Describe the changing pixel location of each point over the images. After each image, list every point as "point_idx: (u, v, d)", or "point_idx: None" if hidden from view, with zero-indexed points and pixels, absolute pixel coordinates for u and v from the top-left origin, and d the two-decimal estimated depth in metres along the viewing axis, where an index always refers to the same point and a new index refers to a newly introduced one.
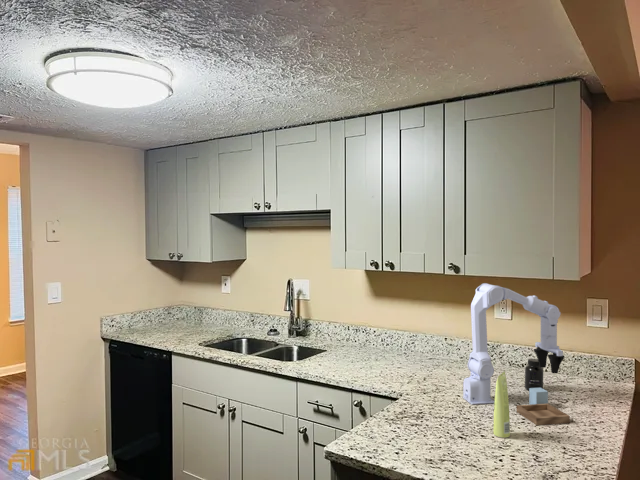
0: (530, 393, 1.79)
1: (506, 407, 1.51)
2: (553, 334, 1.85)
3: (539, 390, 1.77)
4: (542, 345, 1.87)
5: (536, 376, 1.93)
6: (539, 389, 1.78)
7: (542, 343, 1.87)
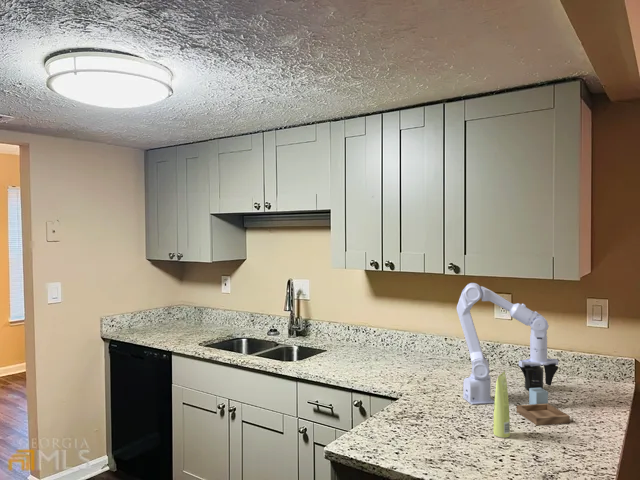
0: (530, 393, 1.79)
1: (506, 407, 1.51)
2: (539, 347, 1.75)
3: (539, 390, 1.77)
4: None
5: (536, 376, 1.93)
6: (539, 389, 1.78)
7: None
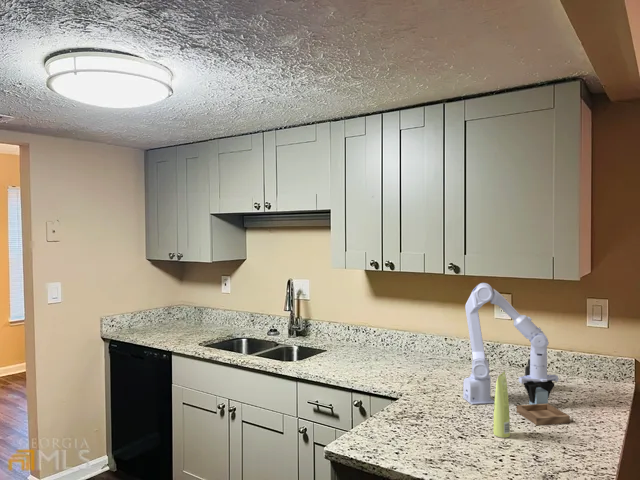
0: None
1: (506, 407, 1.51)
2: (539, 364, 1.75)
3: (539, 389, 1.77)
4: None
5: None
6: (539, 389, 1.78)
7: None
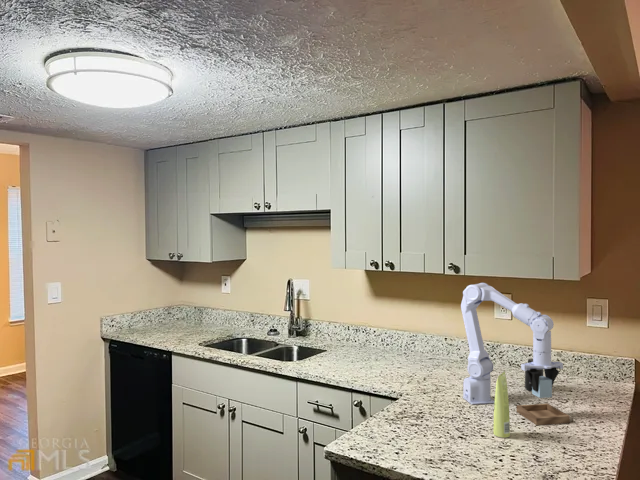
0: None
1: (506, 407, 1.51)
2: (539, 350, 1.66)
3: (543, 378, 1.68)
4: None
5: None
6: (542, 377, 1.69)
7: None
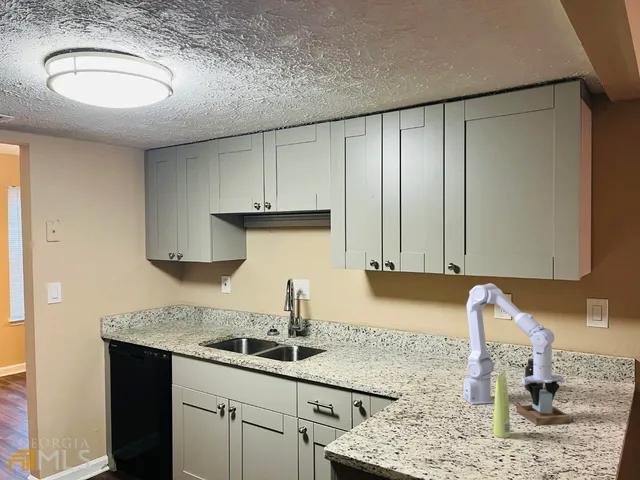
0: None
1: (506, 407, 1.51)
2: (539, 363, 1.65)
3: (543, 392, 1.67)
4: None
5: None
6: (543, 391, 1.68)
7: None
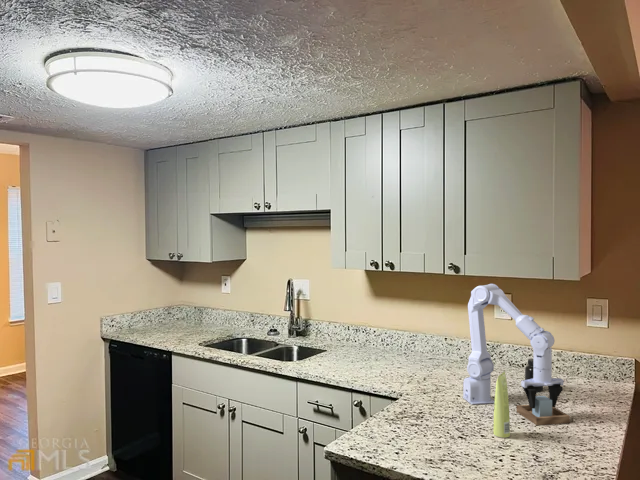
0: None
1: (506, 407, 1.51)
2: (539, 366, 1.65)
3: (543, 398, 1.67)
4: None
5: None
6: (543, 397, 1.68)
7: None
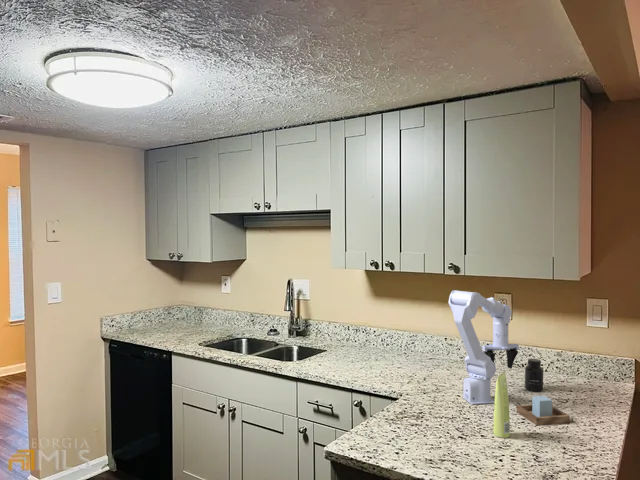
0: (533, 402, 1.69)
1: (506, 407, 1.51)
2: (507, 333, 1.90)
3: (543, 398, 1.67)
4: None
5: (536, 376, 1.93)
6: (543, 397, 1.68)
7: None
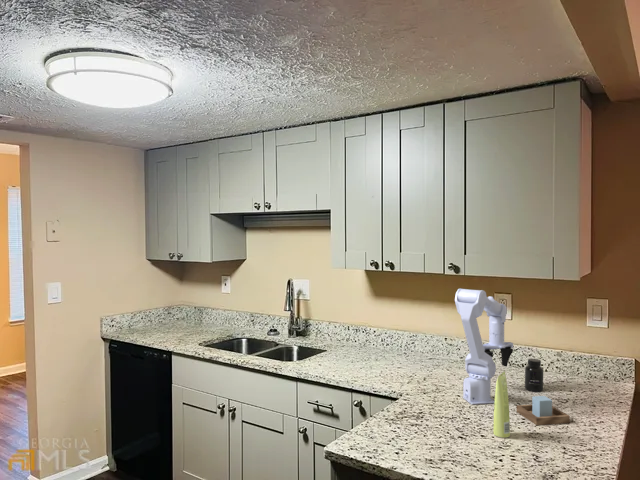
0: (533, 402, 1.69)
1: (506, 407, 1.51)
2: (503, 331, 1.93)
3: (543, 398, 1.67)
4: None
5: (536, 376, 1.93)
6: (543, 397, 1.68)
7: None
